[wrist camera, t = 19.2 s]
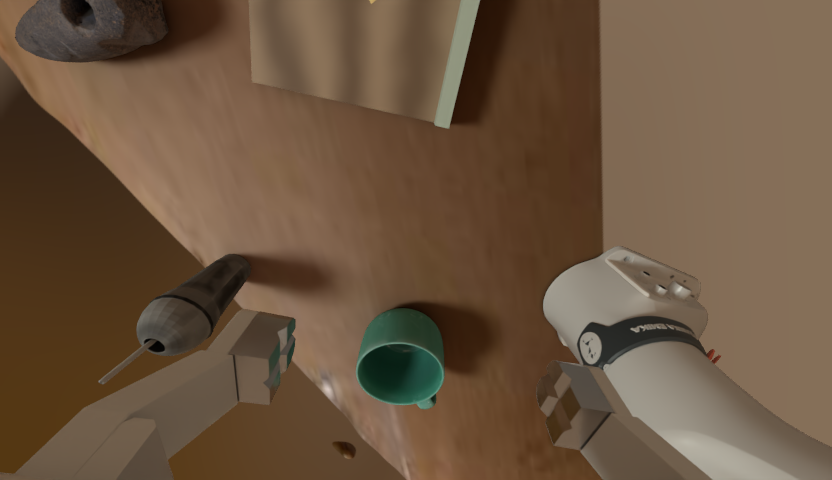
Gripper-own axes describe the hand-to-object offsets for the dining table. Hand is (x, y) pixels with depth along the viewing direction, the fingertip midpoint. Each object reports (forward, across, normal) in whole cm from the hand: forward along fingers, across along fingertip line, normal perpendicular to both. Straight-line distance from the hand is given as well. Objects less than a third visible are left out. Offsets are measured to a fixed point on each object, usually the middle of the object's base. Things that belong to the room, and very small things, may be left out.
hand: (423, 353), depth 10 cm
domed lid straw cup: (+31, -24, -22) cm, 45 cm away
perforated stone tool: (+31, -34, +6) cm, 47 cm away
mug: (+31, +4, -30) cm, 44 cm away
